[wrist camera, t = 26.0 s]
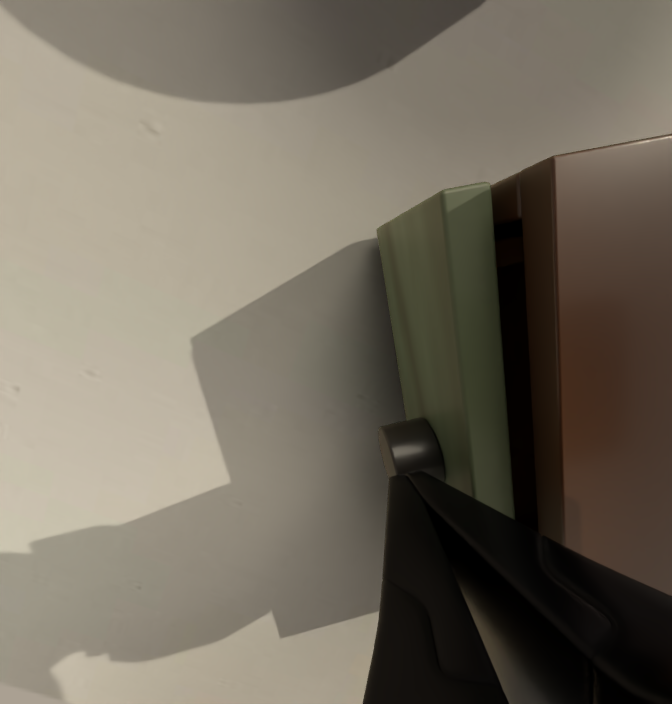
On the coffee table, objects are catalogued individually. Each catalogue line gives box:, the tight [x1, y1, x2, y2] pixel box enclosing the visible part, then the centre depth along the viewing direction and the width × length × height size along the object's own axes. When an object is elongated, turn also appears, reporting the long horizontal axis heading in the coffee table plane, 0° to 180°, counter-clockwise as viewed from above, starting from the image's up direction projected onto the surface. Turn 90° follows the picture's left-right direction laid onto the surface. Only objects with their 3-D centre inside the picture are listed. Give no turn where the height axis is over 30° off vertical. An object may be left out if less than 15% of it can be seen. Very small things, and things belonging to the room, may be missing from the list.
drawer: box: [377, 182, 538, 532], centre depth 11 cm, size 17×14×5 cm
